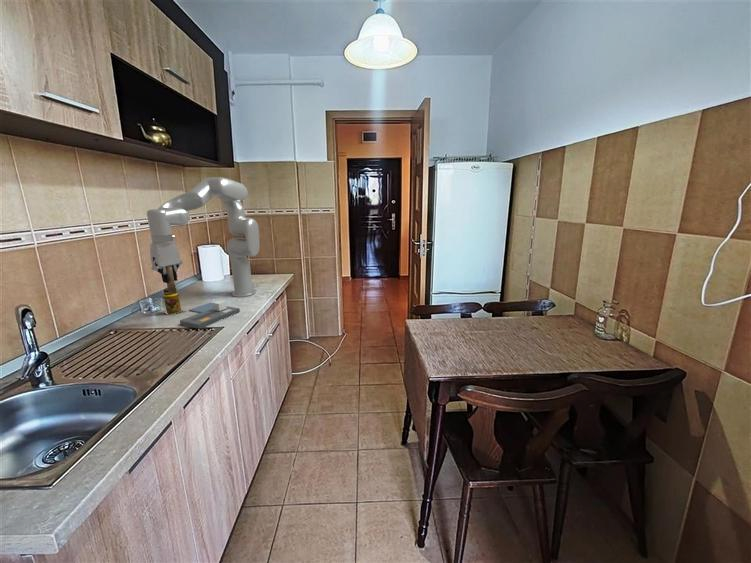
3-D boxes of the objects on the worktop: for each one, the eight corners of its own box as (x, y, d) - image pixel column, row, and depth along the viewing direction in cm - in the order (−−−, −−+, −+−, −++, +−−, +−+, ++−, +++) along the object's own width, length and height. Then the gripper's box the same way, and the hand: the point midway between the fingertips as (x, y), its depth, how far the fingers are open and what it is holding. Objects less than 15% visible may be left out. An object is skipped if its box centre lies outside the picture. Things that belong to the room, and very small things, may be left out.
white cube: (220, 307, 161) (219, 300, 160) (226, 308, 160) (225, 301, 159) (213, 309, 158) (212, 302, 157) (219, 311, 156) (218, 303, 155)
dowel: (173, 291, 149) (167, 260, 145) (178, 292, 148) (172, 260, 144) (167, 293, 146) (161, 261, 143) (171, 294, 145) (165, 262, 142)
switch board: (221, 309, 166) (221, 305, 165) (239, 312, 161) (239, 308, 160) (180, 324, 146) (179, 320, 146) (199, 328, 142) (198, 324, 141)
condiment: (170, 315, 158) (166, 291, 155) (161, 312, 162) (156, 289, 159) (185, 311, 164) (181, 287, 161) (176, 308, 168) (172, 285, 165)
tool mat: (210, 303, 175) (210, 302, 174) (224, 306, 170) (224, 304, 170) (189, 310, 164) (189, 309, 164) (203, 313, 160) (203, 312, 160)
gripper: (174, 236, 150) (182, 276, 154) (136, 241, 135) (145, 285, 140) (186, 237, 147) (193, 277, 151) (148, 242, 132) (157, 287, 137)
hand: (170, 281), depth 146 cm, fingers closed on dowel, 3 cm apart
